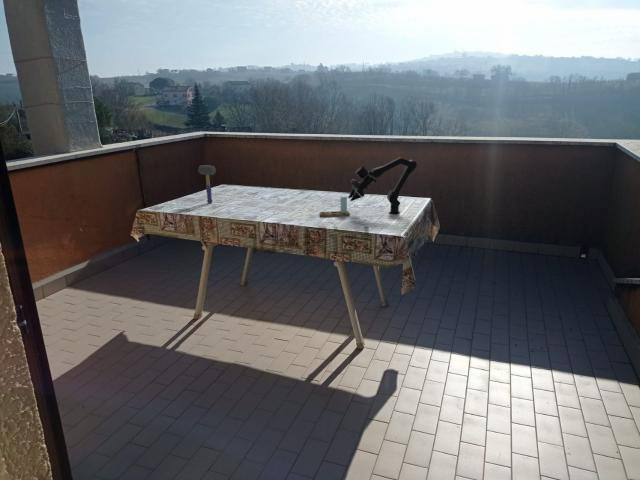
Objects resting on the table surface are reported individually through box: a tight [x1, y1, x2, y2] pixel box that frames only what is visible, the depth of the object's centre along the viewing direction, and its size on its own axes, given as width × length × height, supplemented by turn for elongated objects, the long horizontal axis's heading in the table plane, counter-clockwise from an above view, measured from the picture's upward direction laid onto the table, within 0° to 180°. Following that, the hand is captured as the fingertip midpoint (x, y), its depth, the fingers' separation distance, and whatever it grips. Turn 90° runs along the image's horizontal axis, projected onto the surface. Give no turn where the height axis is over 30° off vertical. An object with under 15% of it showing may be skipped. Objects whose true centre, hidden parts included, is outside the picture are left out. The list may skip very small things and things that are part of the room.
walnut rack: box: [319, 210, 351, 218], centre depth 318 cm, size 20×7×2 cm, turn 96°
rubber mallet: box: [197, 164, 217, 204], centre depth 357 cm, size 12×8×30 cm, turn 66°
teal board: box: [340, 195, 348, 213], centre depth 317 cm, size 4×2×13 cm, turn 96°
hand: (349, 199), depth 316 cm, fingers open, 9 cm apart
